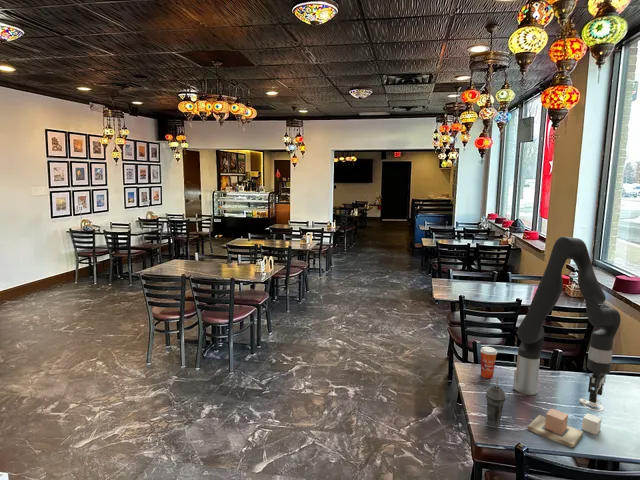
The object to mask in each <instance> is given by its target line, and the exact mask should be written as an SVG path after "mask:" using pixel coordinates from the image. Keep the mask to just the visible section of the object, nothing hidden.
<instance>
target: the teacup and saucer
mask: <svg viewBox="0 0 640 480" xmlns="http://www.w3.org/2000/svg"><path fill="white" fill-rule="evenodd" d="M578 402H579V403H580V404H582V406H583V407H585V408H587V409H588V410H591V411H598V412H600V411H603V410H604V408H605V407H604V406H603V405H602V402H601V401H600V400H599V398H598V397H597V399H596V403H593V402H590V401H589V400H587V399H585V398H579V401H578ZM598 402H599V403H598ZM589 405H590V407H588V406H589ZM591 407H592V408H591ZM597 407H600V408H599V409H595V408H597Z"/></svg>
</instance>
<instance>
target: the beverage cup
mask: <svg viewBox="0 0 640 480" xmlns="http://www.w3.org/2000/svg"><path fill="white" fill-rule="evenodd" d="M498 385H499V377H496V382H495V385H493V386H490V387H489V388H488V389H487V390H486V393H485V396H486V397H485V398H486V420H487V424H488V425H489V426H490V427H495V428H496V427H499V426H500V423H501V419H502V413H503V409H504V404H505V401H506V399H507V398H506V393H505V391H504V389H503V388H501V387H500V386H498Z"/></svg>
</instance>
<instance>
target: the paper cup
mask: <svg viewBox="0 0 640 480" xmlns="http://www.w3.org/2000/svg"><path fill="white" fill-rule="evenodd" d="M479 351H480V376H481V377H482V378H484V379H493V377H494V371H495V365H496V358H497V354H498V352H497V349H495V348H494V347H491V346H482V347H481V349H480V350H479Z"/></svg>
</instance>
